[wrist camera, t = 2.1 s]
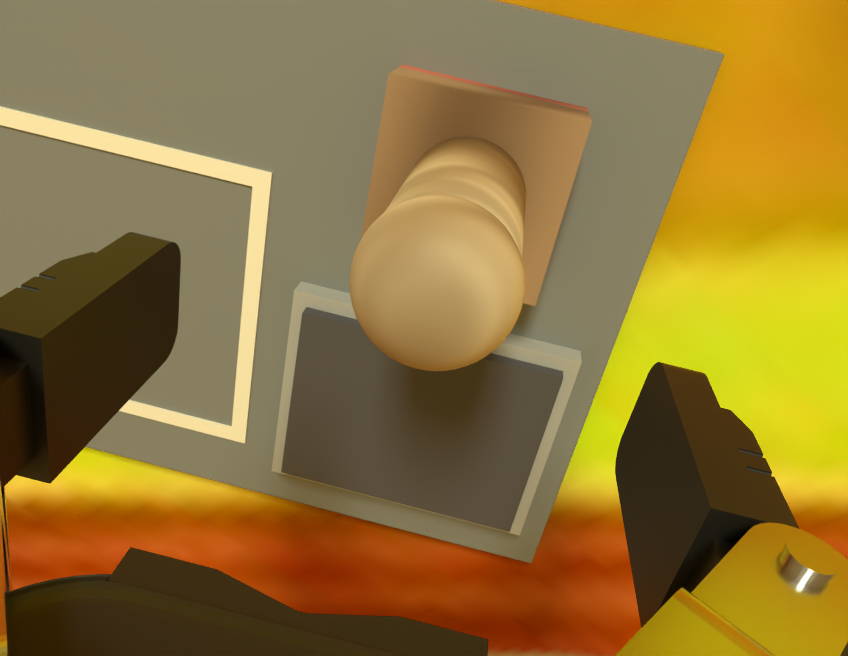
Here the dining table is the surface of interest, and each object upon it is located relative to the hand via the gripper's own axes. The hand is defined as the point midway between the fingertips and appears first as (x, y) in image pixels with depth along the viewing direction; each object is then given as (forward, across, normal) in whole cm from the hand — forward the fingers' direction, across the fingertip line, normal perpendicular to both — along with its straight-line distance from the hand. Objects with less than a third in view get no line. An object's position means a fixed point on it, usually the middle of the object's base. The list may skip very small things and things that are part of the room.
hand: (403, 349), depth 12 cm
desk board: (+12, +6, +5) cm, 15 cm away
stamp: (+12, 0, 0) cm, 12 cm away
